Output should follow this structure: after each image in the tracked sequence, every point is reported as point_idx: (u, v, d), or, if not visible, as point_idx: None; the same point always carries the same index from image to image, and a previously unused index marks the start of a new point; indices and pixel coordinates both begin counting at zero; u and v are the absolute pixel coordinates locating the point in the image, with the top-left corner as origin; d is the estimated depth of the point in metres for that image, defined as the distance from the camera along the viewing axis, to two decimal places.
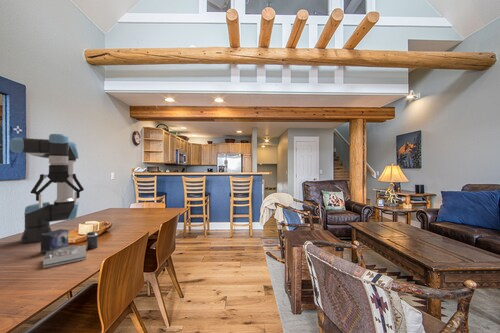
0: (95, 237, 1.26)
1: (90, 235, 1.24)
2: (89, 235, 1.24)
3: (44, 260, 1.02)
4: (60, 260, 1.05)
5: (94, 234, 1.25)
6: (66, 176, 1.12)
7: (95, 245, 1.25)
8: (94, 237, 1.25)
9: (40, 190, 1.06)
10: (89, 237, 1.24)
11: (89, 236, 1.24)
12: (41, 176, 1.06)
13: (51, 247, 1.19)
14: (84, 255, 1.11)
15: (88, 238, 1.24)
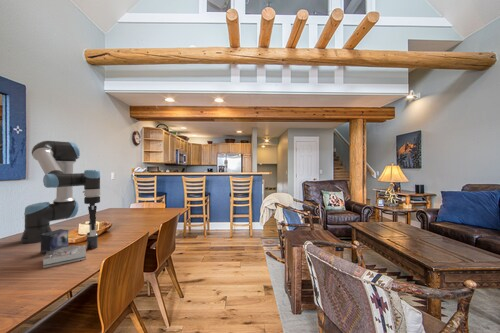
0: (95, 237, 1.26)
1: None
2: (89, 235, 1.24)
3: (44, 260, 1.02)
4: (60, 260, 1.05)
5: None
6: (90, 207, 1.23)
7: (95, 245, 1.25)
8: (94, 237, 1.25)
9: None
10: (89, 237, 1.24)
11: (89, 236, 1.24)
12: None
13: (51, 247, 1.19)
14: (84, 255, 1.11)
15: (88, 238, 1.24)
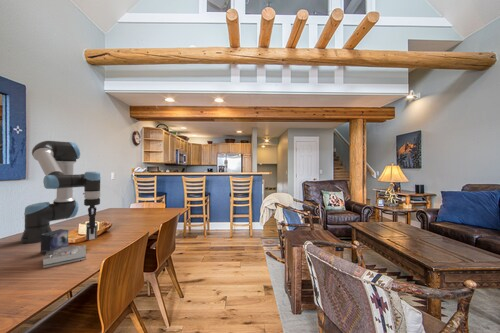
0: None
1: None
2: (89, 225, 1.24)
3: (44, 260, 1.02)
4: (60, 260, 1.05)
5: None
6: (89, 209, 1.23)
7: None
8: None
9: (89, 221, 1.29)
10: None
11: (89, 226, 1.24)
12: None
13: (51, 247, 1.19)
14: (84, 255, 1.11)
15: None
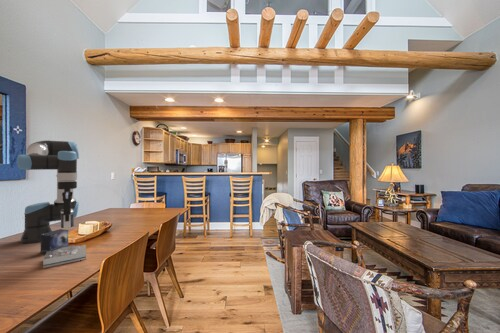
0: None
1: None
2: (63, 211, 1.09)
3: (44, 260, 1.02)
4: (60, 260, 1.05)
5: None
6: (64, 193, 1.08)
7: None
8: None
9: None
10: None
11: None
12: None
13: (51, 247, 1.19)
14: (84, 255, 1.11)
15: (62, 215, 1.09)
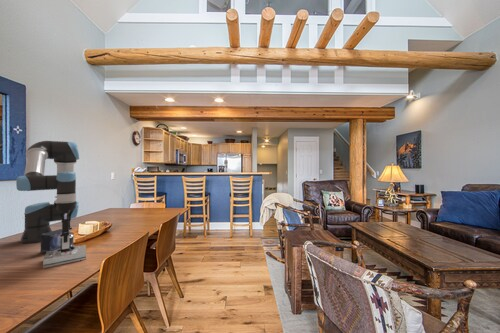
0: (70, 239, 1.10)
1: None
2: None
3: (44, 260, 1.02)
4: (60, 260, 1.05)
5: (69, 236, 1.10)
6: (63, 215, 1.08)
7: (69, 247, 1.10)
8: (69, 239, 1.10)
9: None
10: None
11: None
12: None
13: (51, 247, 1.19)
14: (84, 255, 1.11)
15: None
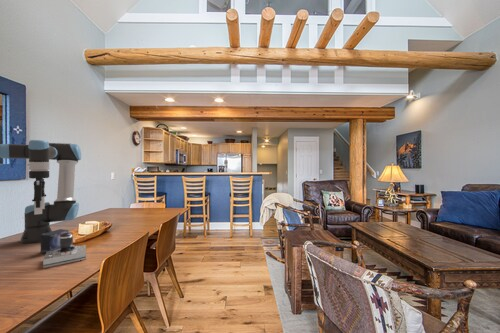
0: (69, 239, 1.10)
1: (63, 237, 1.09)
2: (62, 237, 1.09)
3: (44, 260, 1.02)
4: (60, 260, 1.05)
5: (68, 235, 1.10)
6: None
7: (69, 247, 1.10)
8: (68, 239, 1.10)
9: None
10: (62, 239, 1.09)
11: (63, 237, 1.09)
12: None
13: (51, 247, 1.19)
14: (84, 255, 1.11)
15: (61, 240, 1.09)
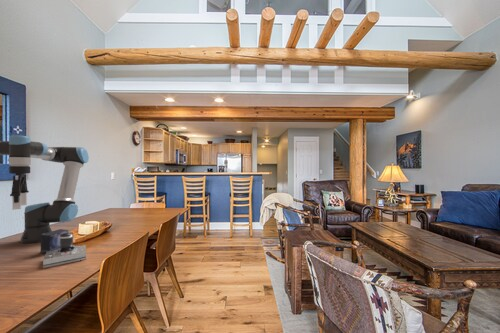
0: (70, 239, 1.10)
1: (64, 237, 1.09)
2: (62, 237, 1.09)
3: (44, 260, 1.02)
4: (60, 260, 1.05)
5: (68, 236, 1.10)
6: None
7: (69, 248, 1.10)
8: (68, 239, 1.10)
9: None
10: (63, 239, 1.09)
11: (63, 237, 1.09)
12: None
13: (51, 247, 1.19)
14: (84, 255, 1.11)
15: (61, 240, 1.09)
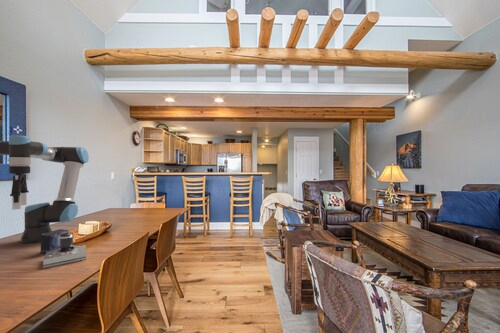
0: (70, 239, 1.10)
1: (63, 237, 1.09)
2: (62, 237, 1.09)
3: (44, 260, 1.02)
4: (60, 260, 1.05)
5: (68, 236, 1.10)
6: None
7: (69, 248, 1.10)
8: (68, 239, 1.10)
9: None
10: (62, 239, 1.09)
11: (63, 237, 1.09)
12: None
13: (51, 247, 1.19)
14: (84, 255, 1.11)
15: (61, 240, 1.09)
